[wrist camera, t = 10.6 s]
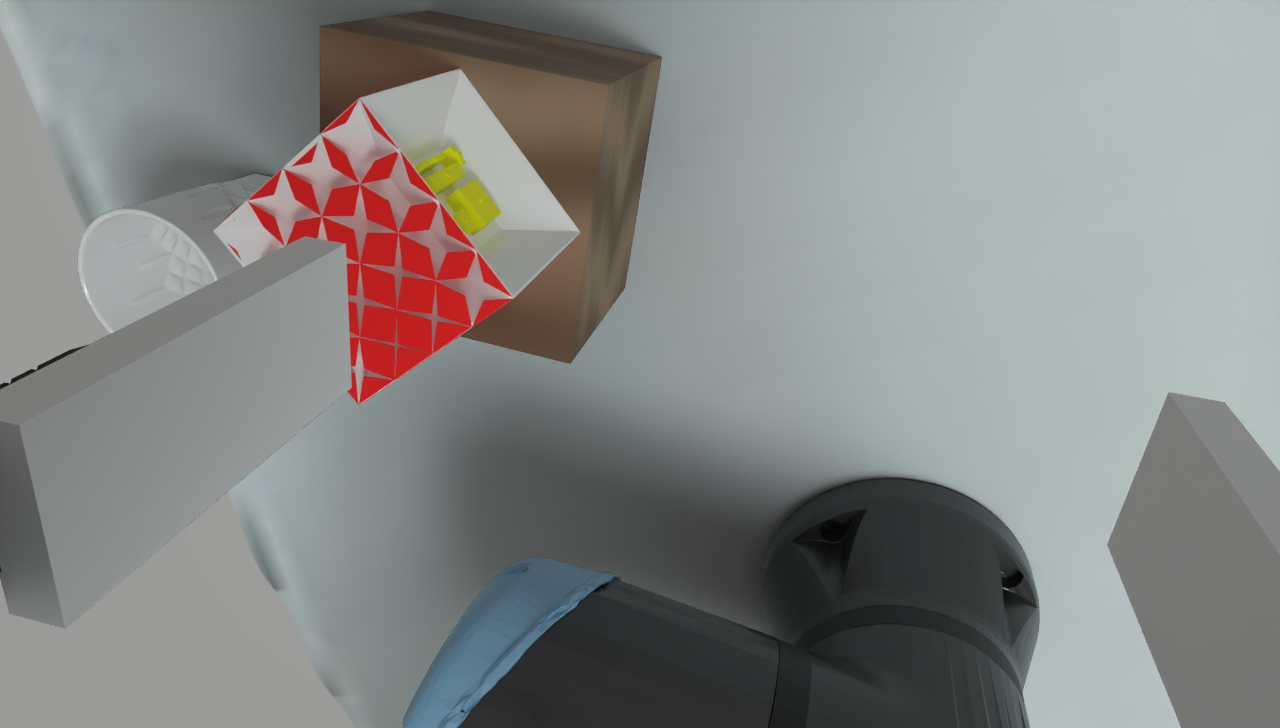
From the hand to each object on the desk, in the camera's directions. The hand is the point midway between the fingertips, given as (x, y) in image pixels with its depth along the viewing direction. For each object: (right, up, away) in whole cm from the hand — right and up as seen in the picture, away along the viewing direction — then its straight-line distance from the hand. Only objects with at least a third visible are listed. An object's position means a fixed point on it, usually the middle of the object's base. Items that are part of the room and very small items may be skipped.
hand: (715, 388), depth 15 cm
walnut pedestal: (-7, +11, +32) cm, 35 cm away
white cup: (-22, +8, +38) cm, 45 cm away
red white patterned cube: (-9, +7, +23) cm, 26 cm away
